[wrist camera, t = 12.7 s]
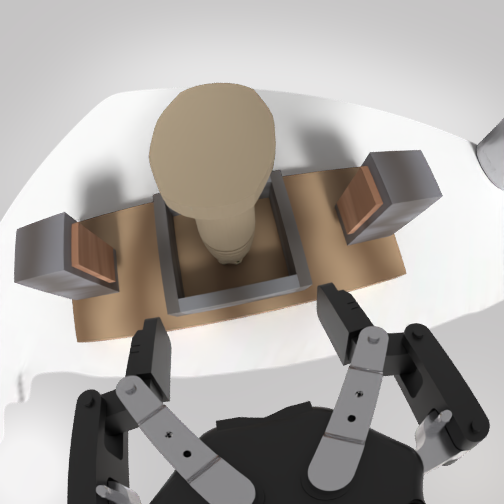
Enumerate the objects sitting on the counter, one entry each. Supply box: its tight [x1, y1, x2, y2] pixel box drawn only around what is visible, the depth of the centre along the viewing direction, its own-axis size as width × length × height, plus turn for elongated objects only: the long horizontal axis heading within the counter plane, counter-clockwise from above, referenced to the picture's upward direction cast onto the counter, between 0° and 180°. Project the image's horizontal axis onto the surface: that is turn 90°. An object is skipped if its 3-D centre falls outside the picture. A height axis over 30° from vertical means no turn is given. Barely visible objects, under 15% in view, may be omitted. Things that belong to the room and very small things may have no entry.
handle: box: [149, 83, 276, 265], centre depth 17 cm, size 5×6×15 cm
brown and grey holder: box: [14, 150, 442, 342], centre depth 21 cm, size 32×12×11 cm, turn 102°
